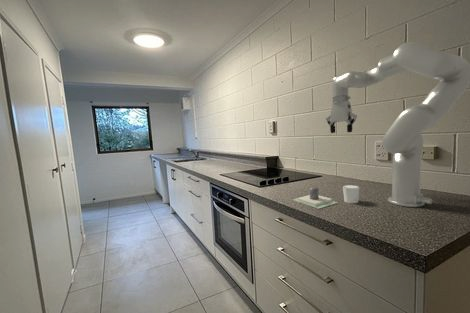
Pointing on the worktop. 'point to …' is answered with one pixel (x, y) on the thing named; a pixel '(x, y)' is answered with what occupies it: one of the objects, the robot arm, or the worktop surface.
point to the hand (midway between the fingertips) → (341, 132)
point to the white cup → (351, 193)
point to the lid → (314, 198)
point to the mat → (318, 205)
